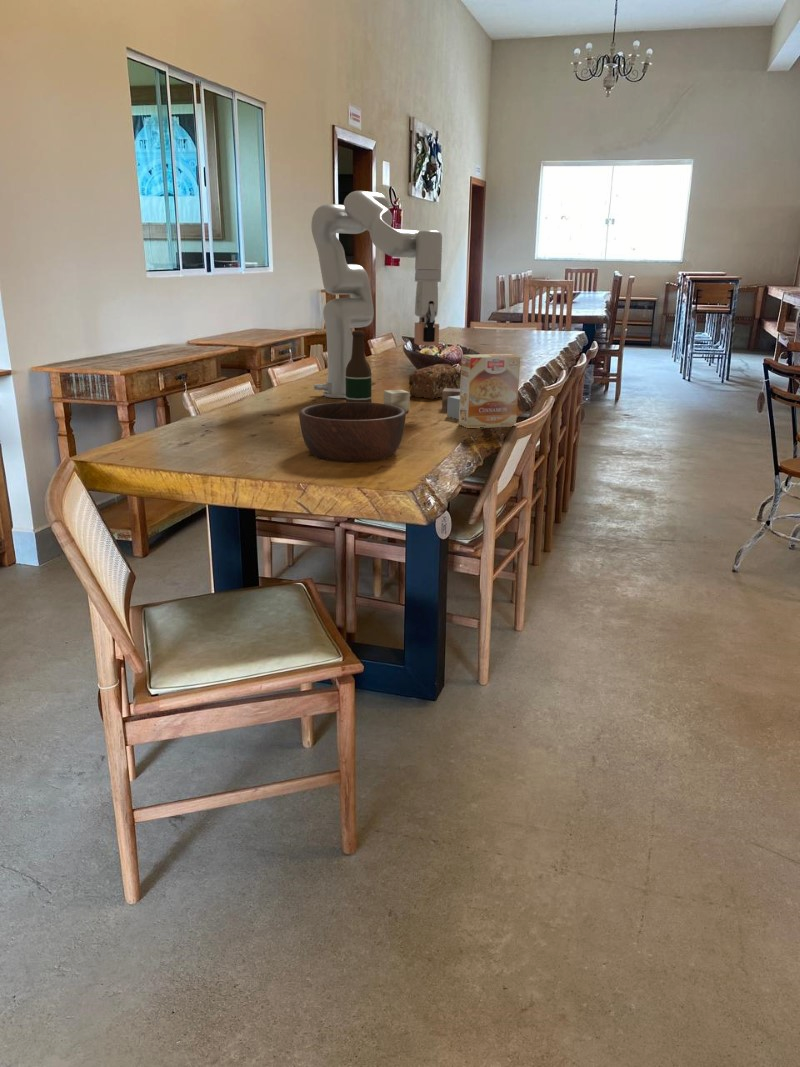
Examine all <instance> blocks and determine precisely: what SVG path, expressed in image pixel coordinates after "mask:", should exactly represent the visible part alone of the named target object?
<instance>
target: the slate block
mask: <svg viewBox="0 0 800 1067" xmlns="http://www.w3.org/2000/svg"><path fill="white" fill-rule="evenodd" d="M459 405H460V396H451V397H448V402H447V411H446V417H447V416H448V417H447V418H450V417H452V418H451V419H454V418H456V419H455V420H458V419H459Z"/></svg>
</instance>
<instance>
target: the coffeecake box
mask: <svg viewBox="0 0 800 1067" xmlns="http://www.w3.org/2000/svg"><path fill="white" fill-rule="evenodd" d="M520 368H521V356H520V355H517V354H512V353H489V354H488V353H487V354H486V353H484V354H483V353H481V354H461V364H460V373H461V381H460V405H459V420H458V425H459V424H460V425H459V426H461V425H462V427H463V426H464V427H463V428H465V427H466V428H465V429H467V428H477V429H481V428H480V427H484V428H483V429H490V428H494V429H495V428H512V426H513V425H514V424H516V425H517V414H518V400H519V399H518V398H519V383H520V370H521V369H520Z"/></svg>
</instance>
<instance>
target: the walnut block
mask: <svg viewBox="0 0 800 1067" xmlns="http://www.w3.org/2000/svg"><path fill="white" fill-rule="evenodd" d="M451 396H460V389H452V388H444V390H443V391H442V397H441V398H442V399H441V401H442V402H441V411H446V410H447V402H448V397H451Z"/></svg>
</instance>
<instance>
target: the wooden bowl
mask: <svg viewBox="0 0 800 1067" xmlns="http://www.w3.org/2000/svg"><path fill="white" fill-rule="evenodd" d="M406 416H407V412H405V411H404V410H403V409H402V408H399V407H396V406H393V405H387V404H384V403H381V402H380V403H378V402H371V403H369V402H346V401H336V402H326V403H325V402H324V403H316V404H311V405H308V406H304V407H303V408H300V410H299V412H298V417H299V424H300V430H301V434H302V439H303V442H304V444H305V446H306V448H307V450H308V451H309V452H310V454H312V456H314V457H315V456H316V458H318V459H321V460H326V461H330V462H331V461H332V462H340V463H341V462H344V463H362V462H363V463H365V462H374V461H379V460H380V461H381V460H385V459H388V458H389V457H392V456H393V455H394V454H395V453H396V451H397V450H398V448H399V446H400V444H401V442H402V439H403V435H404V430H405V424H406V419H407V418H406Z"/></svg>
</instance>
